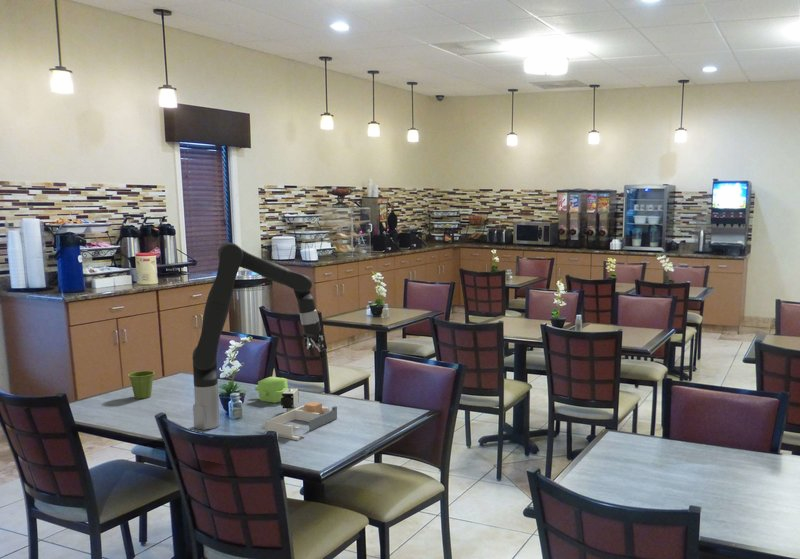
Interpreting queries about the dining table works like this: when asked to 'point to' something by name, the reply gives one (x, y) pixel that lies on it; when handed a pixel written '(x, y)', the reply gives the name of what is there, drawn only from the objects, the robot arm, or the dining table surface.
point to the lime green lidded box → (271, 389)
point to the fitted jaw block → (314, 407)
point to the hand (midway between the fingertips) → (317, 358)
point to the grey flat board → (323, 419)
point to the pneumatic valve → (290, 398)
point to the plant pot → (142, 383)
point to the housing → (287, 430)
